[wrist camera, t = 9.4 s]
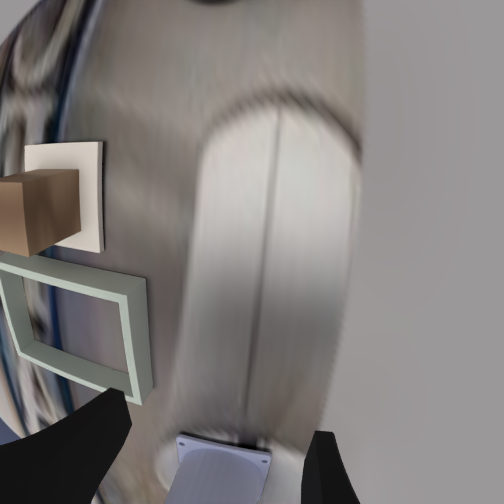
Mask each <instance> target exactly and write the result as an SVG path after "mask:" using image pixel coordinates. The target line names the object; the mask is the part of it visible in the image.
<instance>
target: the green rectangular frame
mask: <svg viewBox="0 0 504 504" xmlns="http://www.w3.org/2000/svg"><path fill="white" fill-rule="evenodd" d="M22 276H24V277H27V278H30V279H33V280H37V281H40V282H44V283H47V284H50V285H54V286H57V287H61V288H64V289H68V290H72V291H75V292H79V293H83V294H87V295H90V296H94V297H98V298H102V299H106V300H110V301H114V302H118V303H119V307H120V316H121V324H122V332H123V339H124V346H125V352H126V359H127V365H128V371H129V374H126V373H123V372H119V371H116V370H113V369H110V368H107V367H104V366H101V365H98V364H96V363H93V362H90V361H87V360H84V359H82V358H79V357H76V356H74V355H71V354H68V353H66V352H63V351H61V350H58V349H56V348H53V347H51V346H48V345H46V344H44V343H41V342H39V341H36V340H35V339H34V335H33V331H32V327H31V322H30V318H29V313H28V308H27V303H26V298H25V293H24V287H23V281H22ZM0 295H1V299H2V303H3V306H4V310H5V314H6V317H7V321H8V324H9V328H10V331H11V334H12V337H13V340H14V343H15V346H16V349H17V352H18V355H19V356H21V357H23V358H25V359H27V360H29V361H31V362H33V363H35V364H37V365H40V366H42V367H44V368H46V369H48V370H50V371H52V372H55V373H57V374H59V375H61V376H64V377H66V378H68V379H71V380H73V381H75V382H78V383H80V384H83V385H85V386H88V387H90V388H93V389H96V390H98V391H101V392H104V391H106V390H107V389H109V388H110V387H112V388H115V389H118V390H121V391H124V394H125V399H126V401H129V402H132V403H135V404H138V405H141V406H142V405H143V403H144V402H145V400H146V398H147V397H148V395H149V393H150V392H151V390H152V388H153V379H152V368H151V357H150V344H149V329H148V310H147V294H146V278H141V277H136V276H131V275H126V274H121V273H116V272H111V271H106V270H102V269H97V268H92V267H87V266H83V265H78V264H74V263H69V262H65V261H60V260H56V259H51V258H47V257H43V256H38V255H33V256H31V257H26V256H22V255H18V254H14V253H10V252H8V253H6V254H4V255H2V256H0Z"/></svg>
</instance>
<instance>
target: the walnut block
mask: <svg viewBox="0 0 504 504" xmlns="http://www.w3.org/2000/svg"><path fill="white" fill-rule="evenodd" d="M80 231H81V218H80V194H79V169H36V170H32V171H27V172H23V173H18V174H14V175H10V176H6V177H2V178H0V250H3V251H6V252H10V253H14V254H18V255H22V256H26V257H31V256H33V255H35V254H36V253H38V252H40V251H42V250H44V249H46V248H48V247H50V246H52V245H54V244H56V243H58V242H60V241H62V240H64V239H66V238H68V237H70V236H72V235H74V234H76V233H78V232H80Z"/></svg>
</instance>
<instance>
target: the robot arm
mask: <svg viewBox="0 0 504 504" xmlns="http://www.w3.org/2000/svg"><path fill="white" fill-rule="evenodd" d="M131 426H132V422H131V418H130V414H129V411H128V407H127V403H126V399H125V394H124V391H121V390H118V389H115V388H112V387H110V388H109V389H107V390H106V391H104V392H103V393H101V394H100V395H98V396H97V397H95V398H94V399H92V400H91V401H90V402H88V403H87V404H85V405H84V406H82V407H81V408H79V409H78V410H76V411H75V412H73V413H71V414H70V415H68V416H67V417H65V418H63V419H62V420H60V421H58V422H56V423H55V424H53V425H51V426H49V427H47V428H45V429H43V430H41V431H39V432H37V433H35V434H33V435H30V436H28V437H25V438H22V439H19V440H16V441H13V442H10V443H7V444H4V445H0V504H91V501H92V499H93V497H94V495H95V492H96V490H97V488H98V486H99V485H100V483H101V481H102V479H103V478H104V476H105V475H106V473H107V471H108V470H109V468H110V466H111V465H112V463H113V461H114V460H115V458H116V457H117V455H118V453H119V452H120V450H121V448H122V446H123V445H124V442H125V440H126V438H127V436H128V433H129V431H130V428H131ZM176 442H177V450H178V457H179V464H180V466H179V469H178V471H177V474H176V476H175V479H174V481H173V483H172V486H171V488H170V491H169V493H168V495H167V498H166V500H165V503H164V504H257V501H259V500H260V498H261V495H262V491H263V488H264V484H265V481H266V477H267V474H268V470H269V466H270V463H271V459H272V455H271V454H270V453H268V452H262V451H256V450H250V449H244V448H239V447H234V446H229V445H224V444H219V443H215V442H210V441H206V440H202V439H198V438H194V437H190V436H186V435H182V434H180V435H177V438H176ZM301 504H360V502H359V500H358V498H357V496H356V494H355V492H354V490H353V487H352V485H351V483H350V480H349V478H348V475H347V473H346V470H345V468H344V465H343V462H342V460H341V456H340V453H339V450H338V447H337V443H336V439H335V435H334V433H333V432H327V431H315V433H314V436H313V438H312V441H311V444H310V447H309V450H308V452H307V455H306V458H305V460H304V468H303V475H302V483H301Z"/></svg>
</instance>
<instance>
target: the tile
mask: <svg viewBox="0 0 504 504" xmlns="http://www.w3.org/2000/svg"><path fill="white" fill-rule="evenodd" d="M102 145H103V141H102V142H71V143H52V144H38V145H27V146H25V172H27V171H32V170H36V169H79V194H80V218H81V231H80V232H78V233H76V234H74V235H72V236H70V237H68V238H66V239H64V240H62V241H60V242H58V243H56V244H54V245H59V246H64V247H70V248H75V249H80V250H86V251H91V252H96V253H101V252H103V251H104V240H103V219H102Z"/></svg>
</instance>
